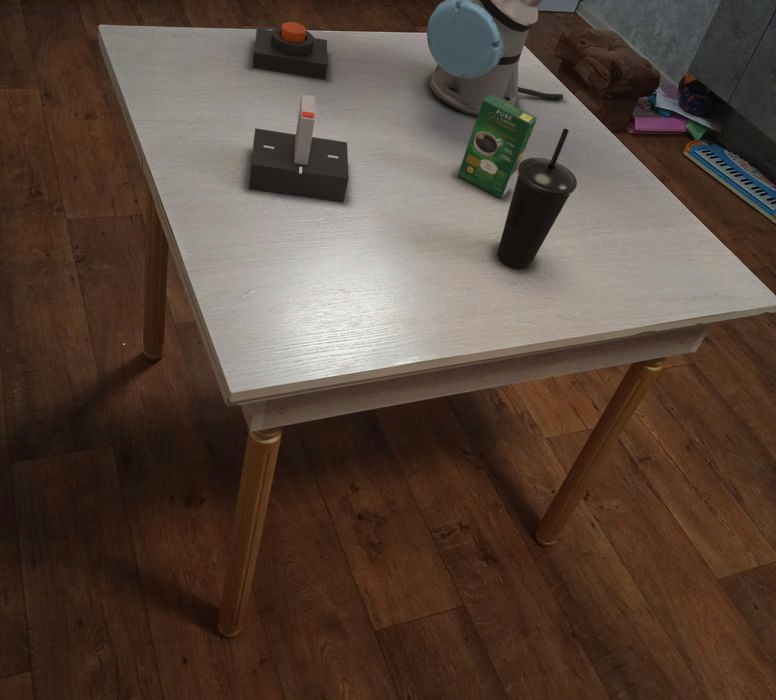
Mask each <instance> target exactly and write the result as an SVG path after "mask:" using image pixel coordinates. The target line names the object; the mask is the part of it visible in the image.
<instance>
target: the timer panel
mask: <svg viewBox="0 0 776 700" xmlns="http://www.w3.org/2000/svg"><path fill="white" fill-rule="evenodd" d="M253 135H254V137H253V145H252V154H251V161H250V162H251V163H250V172H249V182H248V190H252V191H260V192H267V193H273V194H274V193H275V194H282V195H288V196H295V197H301V198H302V197H303V198H310V199H318V200H325V201H331V202H341V203H344V202H345V199H346V198H345V197H346V192H347V188H348V183H349V178H350V177H349V155H348V154H349V153H348V151H349V150H348V142H347V141H341V140H335V139H329V138H322V137H321V138H320V137H314V136H312V140H311V146H310V152H309V158H308V165H302V164H295V163H294V154H295V137H296V133H288V132H282V131H276V130H269V129H263V128H256V127H255V128H254V134H253Z"/></svg>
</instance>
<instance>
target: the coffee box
mask: <svg viewBox="0 0 776 700" xmlns="http://www.w3.org/2000/svg"><path fill="white" fill-rule="evenodd" d="M537 120H538V116H535V115H533V114H530V113H529V112H527V111H526V110H523V109H521V108H520V107H517V106H516V105H515V106H513V105H511V104H509V103H507V102H506V101H504V100H502V99H500V98H498V97H496V96H494V95H492V94H490V95H489V96H487V97H486V98H485V99H483V102H482V105H481V108H480V111H479V114H478V116H477V117H476V120H475V123H474V125H473V128H472V131H471V134H470V137H469V140H468V143H467V147H466V149H465V152H464V155H463V158H462V160H461V163H460V167H459V170H458V172H457V177H459V178H461V179H463V180H465V181H466V182H468V183H471V184H473V185H475V186H477V187H479V188H480V189H482V190H485V191H487V192H488V193H489V194H491V195H493V196H496V197H497V198H499V199H503V198H504V197H505V195H507V193H508V192H509V190H510V188H511V185H512V182H513V181H514V177H515V175H516V172H517V171H518V167H519V164H520V163H521V160H522V158H523V155H524V153H525V150H526V147H527V145H528V143H529V140H530V138H531V136H532V133H533V130H534V128H535V125H536V123H537Z"/></svg>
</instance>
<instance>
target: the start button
mask: <svg viewBox="0 0 776 700" xmlns="http://www.w3.org/2000/svg"><path fill="white" fill-rule="evenodd" d="M281 26H282V28H281V37H282V38H283V39H285V40H287V41H290V42H296V43H297V42H304V41H305V35H306V31H307V28H306V27H305V26H304V25H303V24H301V23H298V22H295V21H286V22H283V23H282V24H281Z"/></svg>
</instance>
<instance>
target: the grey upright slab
mask: <svg viewBox="0 0 776 700" xmlns="http://www.w3.org/2000/svg"><path fill="white" fill-rule="evenodd" d="M315 121H316V96H314V95H308V94H301V96H300V102H299V110H298V116H297V123H296V131H295V134H296V137H295V154H294V163H295V164H302V165H308V158H309V152H310V146H311V140H312V137H313V133H314V126H315Z"/></svg>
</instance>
